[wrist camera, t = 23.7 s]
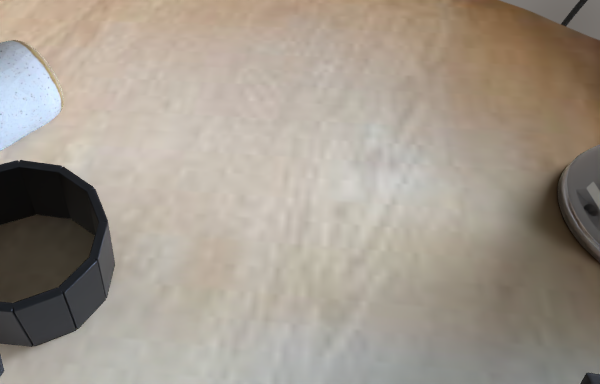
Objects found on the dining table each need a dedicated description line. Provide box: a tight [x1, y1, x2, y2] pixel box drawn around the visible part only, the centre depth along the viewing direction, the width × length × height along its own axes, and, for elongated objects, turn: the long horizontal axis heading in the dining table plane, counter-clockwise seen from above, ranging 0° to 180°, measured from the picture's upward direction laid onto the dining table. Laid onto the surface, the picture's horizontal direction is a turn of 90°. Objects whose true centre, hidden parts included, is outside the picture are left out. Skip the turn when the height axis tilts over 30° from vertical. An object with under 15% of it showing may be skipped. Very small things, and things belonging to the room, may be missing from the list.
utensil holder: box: [0, 160, 115, 347], centre depth 39 cm, size 11×11×6 cm
